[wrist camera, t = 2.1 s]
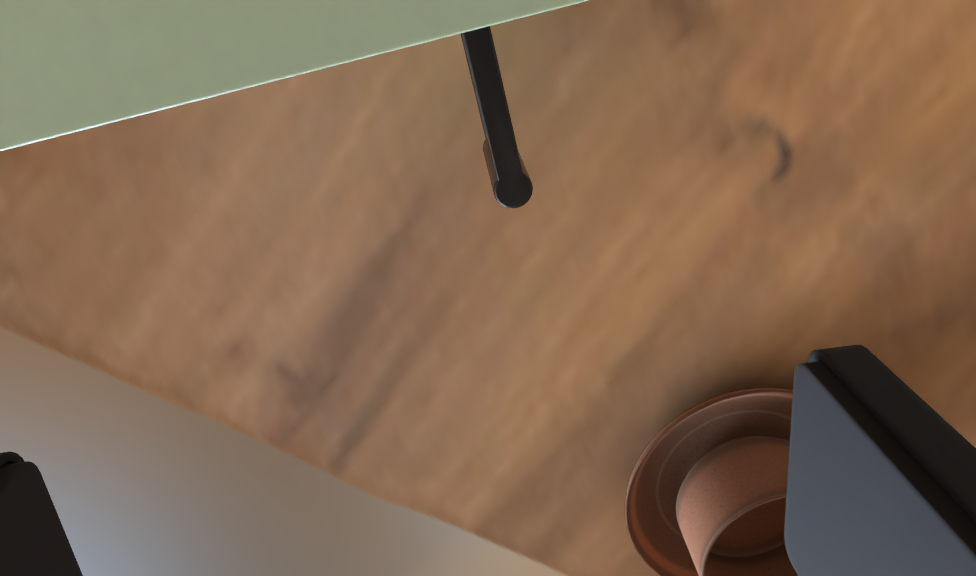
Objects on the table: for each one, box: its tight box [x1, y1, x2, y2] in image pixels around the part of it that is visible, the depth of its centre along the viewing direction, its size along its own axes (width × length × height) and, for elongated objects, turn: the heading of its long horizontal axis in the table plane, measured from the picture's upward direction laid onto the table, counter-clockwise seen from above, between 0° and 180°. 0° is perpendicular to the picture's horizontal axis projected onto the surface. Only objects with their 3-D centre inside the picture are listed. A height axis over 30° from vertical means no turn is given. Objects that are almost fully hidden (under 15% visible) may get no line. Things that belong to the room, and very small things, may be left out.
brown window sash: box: [461, 26, 533, 208], centre depth 25 cm, size 9×7×8 cm
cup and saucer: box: [626, 388, 798, 576], centre depth 37 cm, size 12×12×6 cm
